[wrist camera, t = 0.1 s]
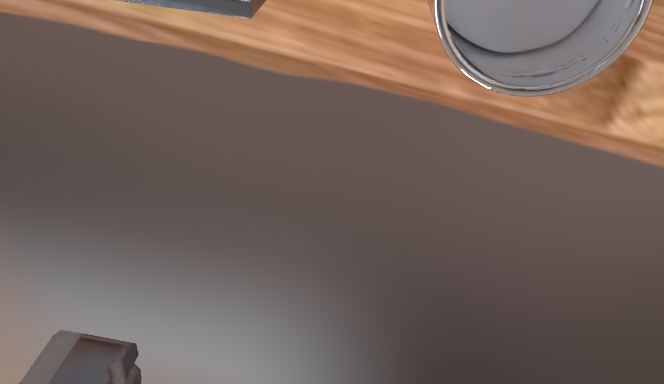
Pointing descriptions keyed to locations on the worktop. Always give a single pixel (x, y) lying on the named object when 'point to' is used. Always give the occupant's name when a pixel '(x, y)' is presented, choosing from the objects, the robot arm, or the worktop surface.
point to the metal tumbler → (536, 40)
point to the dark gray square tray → (210, 6)
